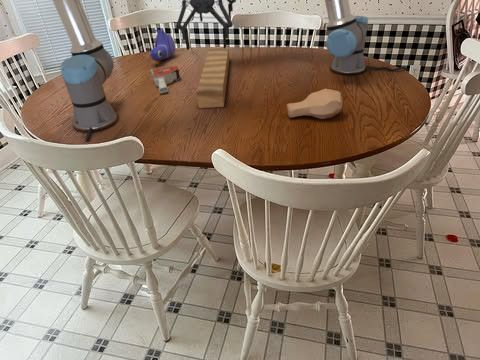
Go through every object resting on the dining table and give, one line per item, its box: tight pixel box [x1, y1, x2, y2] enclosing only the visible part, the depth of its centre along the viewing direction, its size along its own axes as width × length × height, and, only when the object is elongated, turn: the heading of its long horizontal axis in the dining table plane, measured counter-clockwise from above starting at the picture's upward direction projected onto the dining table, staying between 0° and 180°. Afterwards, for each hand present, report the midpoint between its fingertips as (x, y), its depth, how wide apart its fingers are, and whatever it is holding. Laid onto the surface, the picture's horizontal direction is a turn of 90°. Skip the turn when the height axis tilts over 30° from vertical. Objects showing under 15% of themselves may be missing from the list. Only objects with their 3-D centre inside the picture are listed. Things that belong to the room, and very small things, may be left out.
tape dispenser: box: [149, 65, 181, 94], centre depth 160 cm, size 18×5×20 cm
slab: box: [196, 45, 230, 109], centre depth 160 cm, size 58×10×7 cm, turn 179°
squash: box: [285, 88, 344, 120], centre depth 126 cm, size 11×20×9 cm, turn 92°
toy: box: [148, 28, 176, 66], centre depth 186 cm, size 10×17×25 cm
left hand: (206, 48), depth 131 cm, fingers open, 13 cm apart
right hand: (215, 20), depth 168 cm, fingers open, 13 cm apart
